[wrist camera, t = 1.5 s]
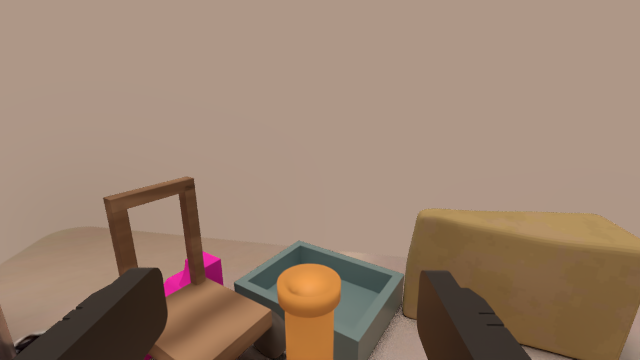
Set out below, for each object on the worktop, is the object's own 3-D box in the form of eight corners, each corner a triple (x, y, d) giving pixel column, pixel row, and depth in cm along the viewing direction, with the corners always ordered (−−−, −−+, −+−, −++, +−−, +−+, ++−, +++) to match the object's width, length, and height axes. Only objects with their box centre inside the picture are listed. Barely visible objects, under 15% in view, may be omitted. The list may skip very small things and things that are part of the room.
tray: (236, 311, 41) (234, 282, 40) (299, 264, 53) (298, 240, 51) (357, 376, 32) (358, 341, 31) (401, 302, 43) (404, 274, 42)
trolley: (113, 384, 31) (69, 202, 26) (214, 312, 41) (198, 171, 36) (193, 466, 24) (156, 243, 19) (291, 356, 34) (285, 190, 29)
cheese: (403, 341, 37) (414, 225, 33) (400, 291, 46) (408, 195, 42) (621, 375, 32) (667, 247, 28) (570, 312, 41) (598, 208, 37)
